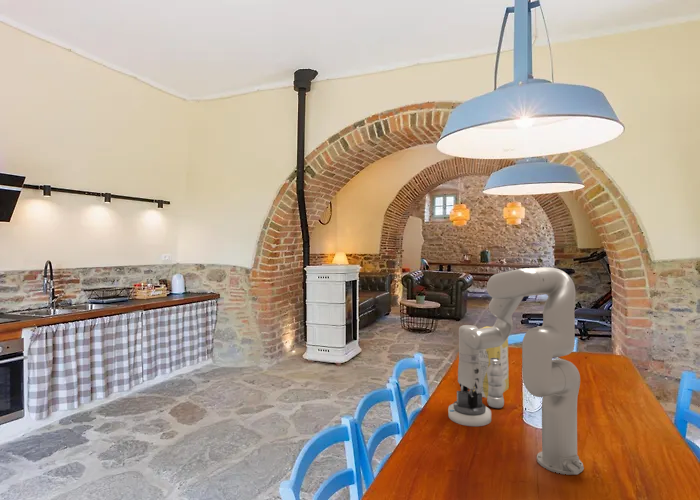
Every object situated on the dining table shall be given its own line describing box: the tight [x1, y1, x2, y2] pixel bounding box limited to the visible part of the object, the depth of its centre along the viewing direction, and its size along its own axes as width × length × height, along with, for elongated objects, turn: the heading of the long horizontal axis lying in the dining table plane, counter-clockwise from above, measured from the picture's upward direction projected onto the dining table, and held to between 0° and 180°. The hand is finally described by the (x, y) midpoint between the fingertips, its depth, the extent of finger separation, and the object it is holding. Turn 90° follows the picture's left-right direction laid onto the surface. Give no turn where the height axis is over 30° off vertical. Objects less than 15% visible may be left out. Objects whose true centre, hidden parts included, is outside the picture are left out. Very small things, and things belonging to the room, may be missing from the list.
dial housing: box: [447, 403, 492, 427], centre depth 159 cm, size 16×16×3 cm
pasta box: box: [473, 326, 510, 399], centre depth 188 cm, size 18×10×28 cm, turn 141°
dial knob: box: [453, 390, 487, 415], centre depth 159 cm, size 12×12×6 cm
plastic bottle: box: [486, 358, 505, 409], centre depth 169 cm, size 6×7×20 cm
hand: (469, 403), depth 159 cm, fingers closed on dial knob, 4 cm apart
